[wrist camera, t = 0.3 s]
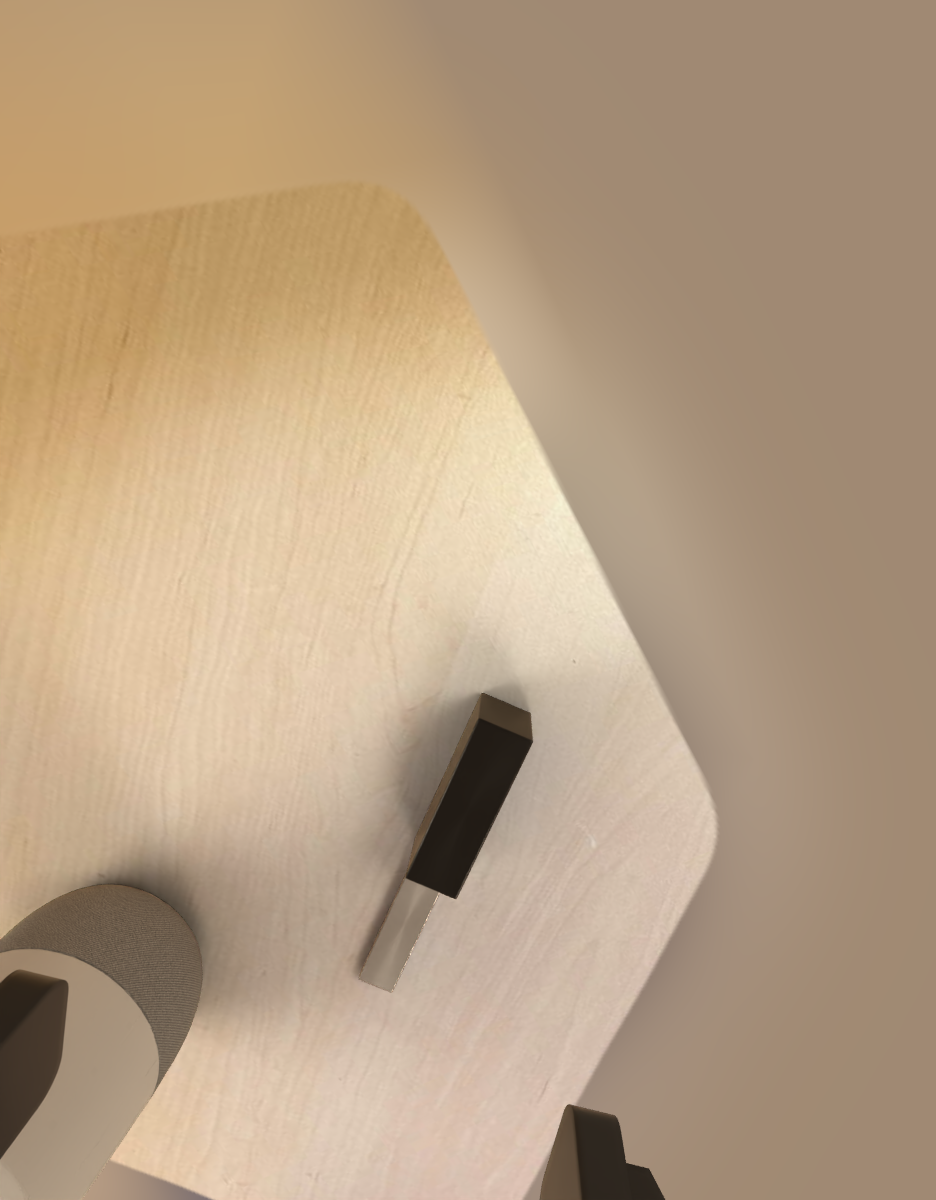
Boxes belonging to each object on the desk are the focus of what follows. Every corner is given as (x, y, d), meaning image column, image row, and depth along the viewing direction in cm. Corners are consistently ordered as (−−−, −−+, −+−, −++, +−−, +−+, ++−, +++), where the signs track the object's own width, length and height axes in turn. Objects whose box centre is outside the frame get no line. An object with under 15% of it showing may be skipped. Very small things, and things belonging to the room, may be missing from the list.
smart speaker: (254, 991, 33) (72, 1369, 19) (104, 1044, 34) (-165, 1432, 21) (162, 835, 31) (-107, 1127, 18) (8, 897, 33) (-352, 1212, 19)
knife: (481, 691, 29) (478, 718, 26) (531, 712, 29) (533, 741, 26) (354, 969, 32) (339, 1020, 29) (399, 987, 32) (388, 1040, 29)
